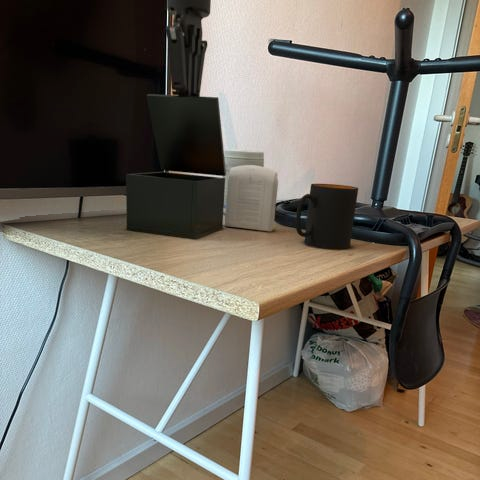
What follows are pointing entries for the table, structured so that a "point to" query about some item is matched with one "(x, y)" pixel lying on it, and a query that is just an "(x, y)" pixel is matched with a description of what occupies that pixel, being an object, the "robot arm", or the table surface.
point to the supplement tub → (240, 163)
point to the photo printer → (251, 197)
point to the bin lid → (188, 133)
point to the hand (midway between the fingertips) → (184, 134)
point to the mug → (328, 216)
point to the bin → (174, 204)
